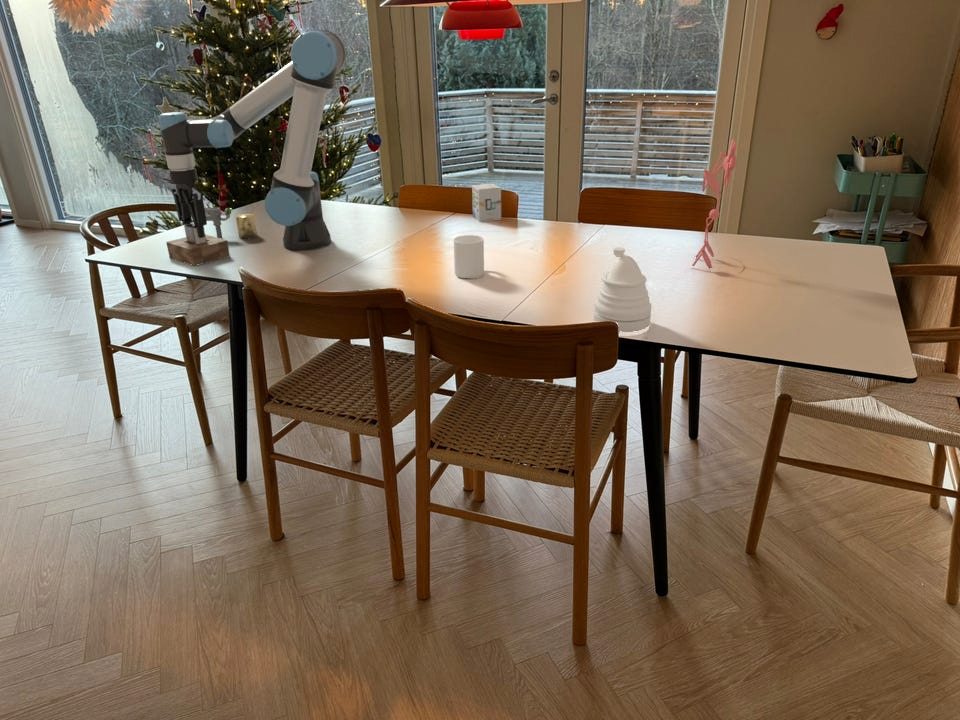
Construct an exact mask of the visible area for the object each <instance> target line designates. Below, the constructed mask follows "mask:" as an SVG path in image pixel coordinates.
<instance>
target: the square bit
mask: <svg viewBox="0 0 960 720" xmlns="http://www.w3.org/2000/svg"><path fill="white" fill-rule="evenodd" d="M192 223H193V224H189V225H183V226H184V227H183V228H184V232H185V237H186V238H187V243H189V244H192V245H195V244H196V239H195V234H194V229H193V227H192V226H194V222H192ZM203 230H204V235H205V234H206V232H205V225H204V226H203ZM205 241H206V236H205Z"/></svg>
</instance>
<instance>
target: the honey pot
mask: <svg viewBox="0 0 960 720" xmlns="http://www.w3.org/2000/svg"><path fill="white" fill-rule="evenodd" d="M625 252H626V248H625V247H620V246H617V247H613V255H614V256H615V257H616V258H618V259H617V261H616V262H614V264H613V265H612V267H611V269H610V270H609V271H607V272H605V273H603V274H602V275H601V277H600V278H601V281H602V282H603V284H602V287H600V290H599V293H598V295H597V298H596V300H595V303H594V308H593V309H594V311H593V321H614V322H617V323H618V325H619V332H620V331H622V332H633V331H639V330H642V329H645V328H646V327H648V326H649V325H650V326H651V316H652V314H651V313H652V303H651V302H650V296H649V291H648V289H647V286H646V283H647V277H646V275H644V274H643V273H642V271H641V269H640V267H639V265H638V263H637V262H636V260H635V259H634V258H633V257H631V256H630V255H626V254H625Z"/></svg>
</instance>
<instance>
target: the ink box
mask: <svg viewBox="0 0 960 720" xmlns="http://www.w3.org/2000/svg"><path fill="white" fill-rule="evenodd" d="M471 190H472V191H471V192H472V193H471V194H472V199H471V200H472V201H471V202H472V217H473V218H474V219H476V221H478V222H479V223H481V222H491V221H501V220H502V188H501V187H500V186H499V185H497V184H495V183H492V182H491V183H483V184H482V183H481V184H472V185H471Z"/></svg>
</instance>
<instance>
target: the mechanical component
mask: <svg viewBox="0 0 960 720" xmlns="http://www.w3.org/2000/svg"><path fill="white" fill-rule="evenodd" d="M204 209H205V215H206V221H207V222H212V223H213V224H212V225H213V226H215V232H216V238H221V239H223V235H222V234H223V232H222V228H221V226H222V222H221V221H223V222H225V221H228V220H229V219H230V217H231V214H232V209H231V208H228V207H226V208H225V209H224V212H222V210H220V207H204ZM222 216H226V217H222Z"/></svg>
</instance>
